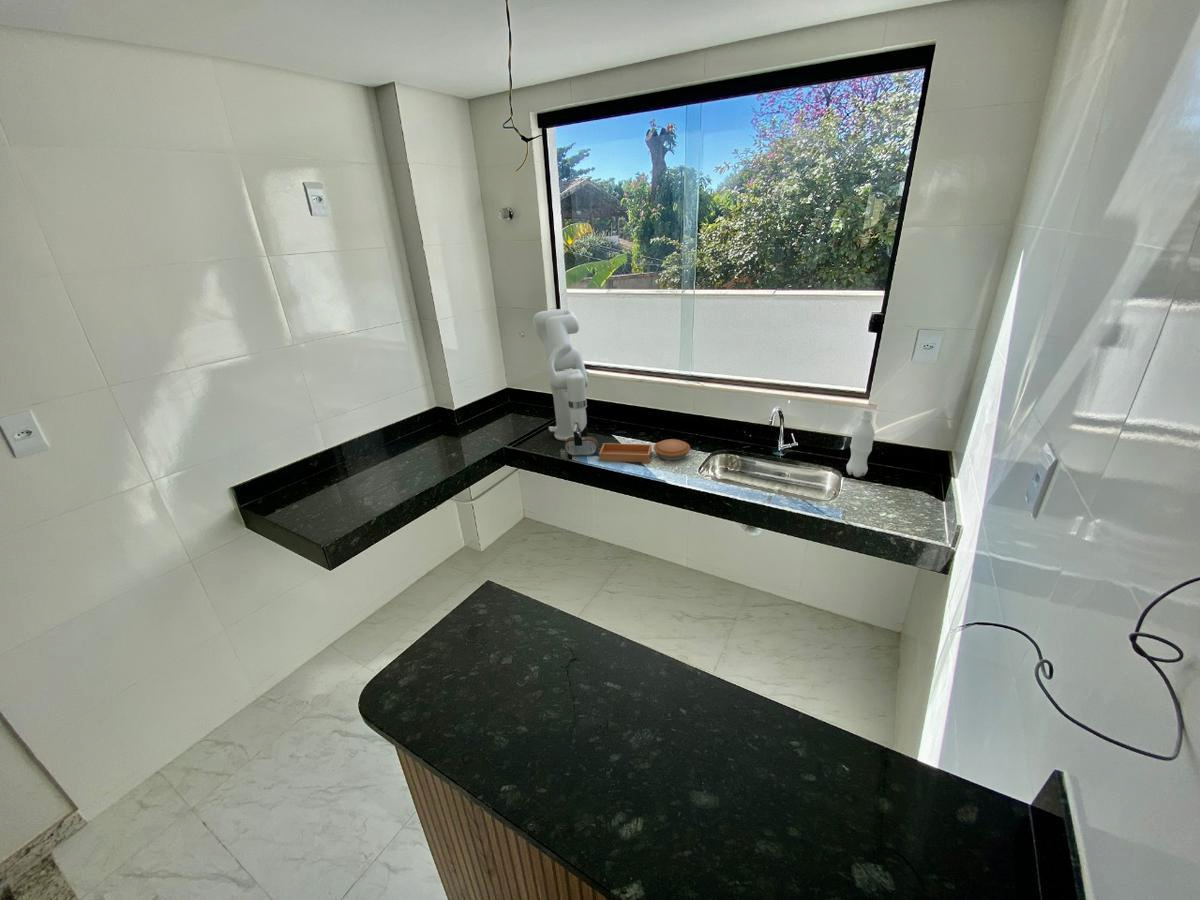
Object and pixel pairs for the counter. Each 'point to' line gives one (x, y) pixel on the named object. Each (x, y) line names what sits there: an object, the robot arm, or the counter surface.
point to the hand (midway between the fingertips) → (581, 441)
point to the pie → (672, 449)
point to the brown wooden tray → (625, 452)
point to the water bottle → (861, 446)
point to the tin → (586, 449)
